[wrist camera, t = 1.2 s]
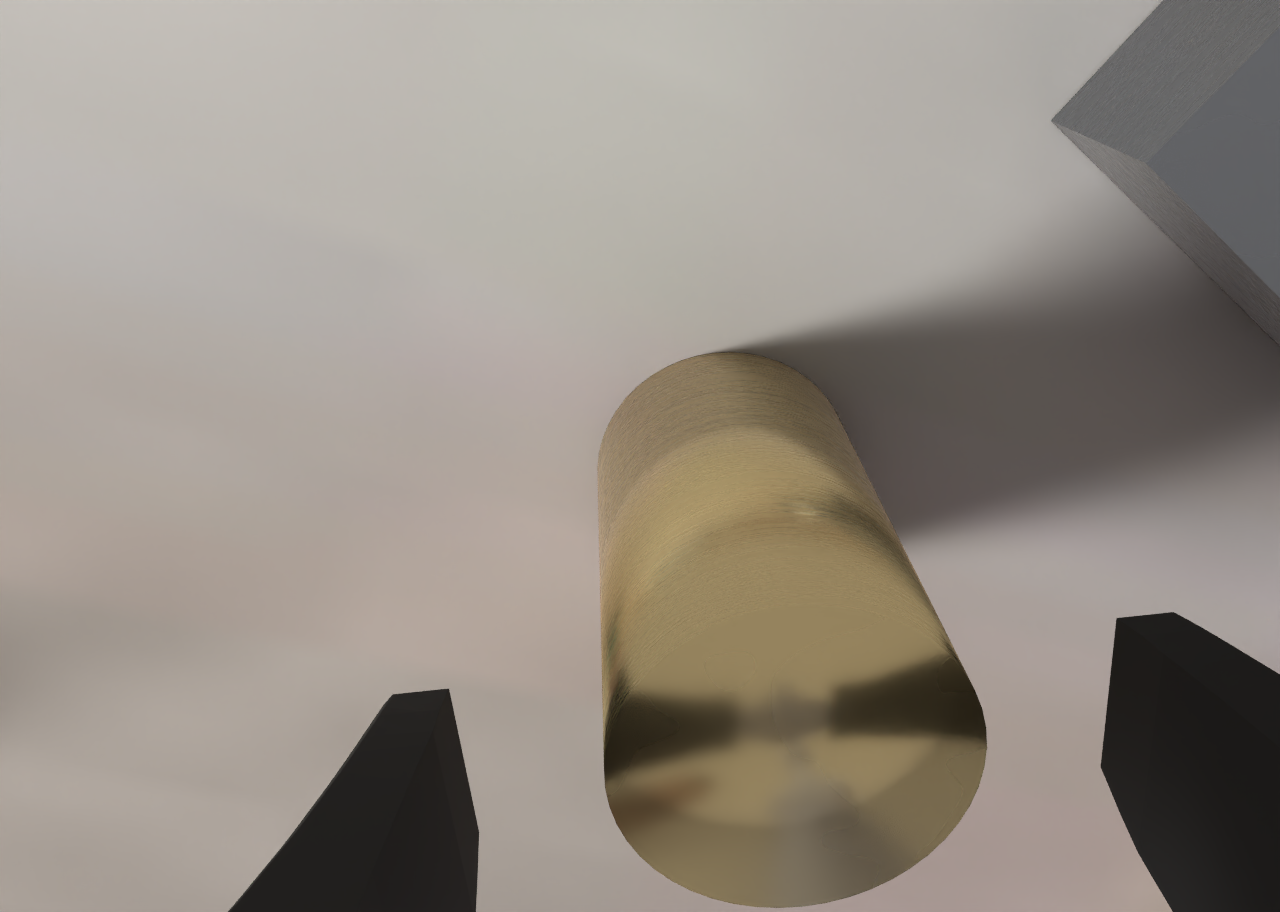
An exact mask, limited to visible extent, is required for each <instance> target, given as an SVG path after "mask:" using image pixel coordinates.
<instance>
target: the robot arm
mask: <svg viewBox="0 0 1280 912" xmlns="http://www.w3.org/2000/svg"><path fill="white" fill-rule="evenodd" d="M1101 769H1102V771H1103V773H1104V776H1105V778H1106V781H1107V783H1108V785H1109V788H1110V790H1111V792H1112V795H1113V797H1114V800H1115V802H1116V804H1117V807H1118V809H1119V812H1120V814H1121V816H1122V818H1123V821H1124V823H1125V825H1126V827H1127V829H1128V832H1129V834H1130V836H1131V838H1132V840H1133V843H1134V845H1135V847H1136V849H1137V851H1138V853H1139V855H1140V857H1141V858H1142V860H1143V862H1144V864H1145V865H1146V867H1147V869H1148V870H1149V872H1150V874H1151V876H1152V877H1153V879H1154V881H1155V882H1156V884H1157V886H1158V887H1159V889H1160V891H1161V892H1162V894H1163V896H1164V897H1165V899H1166V901H1167V903H1168V904H1169V906H1170V908H1171V909H1172V911H1173V912H1280V674H1278V673H1277V672H1275V671H1273V670H1272V669H1270V668H1268V667H1267V666H1265V665H1263V664H1262V663H1260V662H1258V661H1257V660H1255V659H1253V658H1252V657H1250V656H1248V655H1247V654H1245V653H1243V652H1242V651H1240V650H1238V649H1237V648H1235V647H1233V646H1232V645H1230V644H1228V643H1227V642H1225V641H1223V640H1222V639H1220V638H1218V637H1217V636H1215V635H1213V634H1212V633H1210V632H1208V631H1207V630H1205V629H1203V628H1201V627H1200V626H1198V625H1196V624H1194V623H1193V622H1191V621H1189V620H1187V619H1185V618H1183V617H1181V616H1180V615H1178V614H1176V613H1174V612H1171V613H1162V614H1152V615H1143V616H1133V617H1124V618H1117V620H1116V629H1115V638H1114V648H1113V657H1112V666H1111V676H1110V685H1109V694H1108V704H1107V713H1106V722H1105V732H1104V741H1103V750H1102V760H1101ZM478 845H479V830H478V825H477V820H476V816H475V811H474V806H473V801H472V797H471V792H470V787H469V782H468V778H467V773H466V768H465V763H464V759H463V754H462V749H461V744H460V739H459V735H458V730H457V725H456V720H455V716H454V711H453V706H452V701H451V697H450V692H449V689H441V690H431V691H422V692H412V693H403V694H393V695H392V696H391V697H390V698H389V699H388V701H387V702H386V703H385V704H384V705H383V707H382V708H381V710H380V711H379V713H378V714H377V716H376V717H375V718H374V720H373V721H372V723H371V724H370V726H369V727H368V729H367V730H366V732H365V733H364V735H363V736H362V738H361V739H360V741H359V742H358V744H357V745H356V746H355V748H354V749H353V751H352V752H351V754H350V755H349V757H348V758H347V760H346V761H345V762H344V764H343V765H342V767H341V768H340V769H339V771H338V772H337V774H336V775H335V777H334V778H333V779H332V781H331V782H330V784H329V785H328V786H327V788H326V789H325V790H324V792H323V793H322V795H321V796H320V797H319V799H318V800H317V801H316V803H315V804H314V805H313V807H312V808H311V809H310V811H309V812H308V813H307V815H306V816H305V817H304V819H303V820H302V821H301V823H300V824H299V825H298V827H297V828H296V829H295V831H294V832H293V833H292V835H291V836H290V837H289V839H288V840H287V841H286V842H285V844H284V845H283V846H282V848H281V849H280V850H279V851H278V852H277V854H276V855H275V856H274V857H273V859H272V860H271V861H270V862H269V863H268V865H267V866H266V867H265V868H264V869H263V871H262V872H261V873H260V874H259V875H258V877H257V878H256V879H255V880H254V881H253V883H252V884H251V885H250V886H249V888H248V889H247V890H246V891H245V892H244V894H243V895H242V896H241V897H240V898H239V900H238V901H237V902H236V903H235V904H234V906H233V907H232V908H231V909H230V910H229V911H228V912H476V895H477V873H478Z"/></svg>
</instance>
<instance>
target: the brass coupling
mask: <svg viewBox="0 0 1280 912" xmlns="http://www.w3.org/2000/svg"><path fill="white" fill-rule="evenodd" d="M598 511H599V557H600V603H601V648H602V694H603V740H604V775H605V789H606V793H607V798H608V802H609V806H610V809H611V811H612V814H613V816H614V819H615V821H616V824H617V825H618V827H619V829H620V830H621V832H622V834H623V835H624V837H625V838H626V840H627V842H628V843H629V844H630V845H631V846H632V847H633V849H634V850H635V851H636V852H637V853H638V855H639V856H640V857H641V858H643V859H644V860H645V861H646V862H647V863H648V864H649V865H650V866H652V867H653V868H654V869H655V870H656V871H658V872H659V873H661V874H662V875H664V876H665V877H667V878H668V879H670V880H671V881H673V882H675V883H677V884H679V885H681V886H683V887H685V888H687V889H689V890H691V891H693V892H696V893H699V894H701V895H704V896H707V897H709V898H712V899H716V900H720V901H724V902H729V903H733V904H739V905H746V906H753V907H771V908H784V907H802V906H809V905H815V904H822V903H827V902H831V901H835V900H839V899H843V898H847V897H850V896H853V895H856V894H859V893H862V892H865V891H867V890H870V889H872V888H874V887H877V886H879V885H881V884H883V883H885V882H887V881H889V880H891V879H893V878H895V877H897V876H898V875H900V874H902V873H903V872H905V871H907V870H908V869H910V868H911V867H913V866H914V865H915V864H917V863H918V862H919V861H921V860H922V859H923V858H925V857H926V856H927V855H929V854H930V853H931V852H932V851H933V850H934V849H935V848H936V847H937V846H938V845H939V844H941V843H942V842H943V841H944V840H945V839H946V837H947V836H948V835H949V834H950V833H951V831H952V830H953V829H954V828H955V827H956V826H957V824H958V823H959V822H960V820H961V819H962V817H963V815H964V814H965V812H966V811H967V809H968V808H969V806H970V804H971V802H972V800H973V798H974V796H975V793H976V791H977V789H978V787H979V784H980V780H981V777H982V773H983V770H984V766H985V758H986V750H987V739H986V725H985V720H984V716H983V711H982V707H981V705H980V702H979V700H978V697H977V695H976V692H975V690H974V688H973V686H972V684H971V682H970V680H969V678H968V676H967V674H966V672H965V670H964V668H963V666H962V664H961V662H960V660H959V658H958V656H957V654H956V652H955V650H954V648H953V646H952V644H951V642H950V640H949V638H948V636H947V634H946V632H945V630H944V628H943V626H942V624H941V622H940V620H939V618H938V616H937V614H936V612H935V610H934V608H933V606H932V604H931V602H930V600H929V598H928V596H927V594H926V592H925V590H924V588H923V586H922V584H921V582H920V580H919V578H918V576H917V574H916V572H915V570H914V568H913V566H912V564H911V562H910V560H909V558H908V556H907V554H906V552H905V550H904V548H903V546H902V544H901V542H900V540H899V538H898V536H897V534H896V532H895V530H894V528H893V526H892V524H891V522H890V520H889V518H888V516H887V514H886V512H885V510H884V508H883V506H882V504H881V502H880V500H879V498H878V496H877V494H876V492H875V490H874V488H873V486H872V484H871V482H870V480H869V478H868V476H867V474H866V472H865V470H864V468H863V466H862V464H861V462H860V460H859V458H858V456H857V454H856V452H855V450H854V448H853V446H852V444H851V442H850V440H849V438H848V436H847V434H846V432H845V430H844V428H843V426H842V424H841V422H840V420H839V418H838V416H837V414H836V412H835V410H834V409H833V407H832V405H831V404H830V402H829V401H828V399H827V398H826V397H825V396H824V394H823V393H822V392H821V391H820V390H819V389H818V388H817V387H816V386H815V385H814V384H813V383H812V382H811V381H810V380H809V379H807V378H806V377H804V376H803V375H802V374H800V373H799V372H797V371H796V370H794V369H792V368H790V367H788V366H786V365H784V364H782V363H780V362H777V361H774V360H771V359H769V358H766V357H762V356H757V355H752V354H745V353H733V352H729V353H712V354H706V355H700V356H696V357H692V358H689V359H686V360H682V361H680V362H677V363H675V364H673V365H670V366H668V367H666V368H664V369H662V370H661V371H659V372H657V373H655V374H654V375H652V376H650V377H649V378H648V379H647V380H645V381H644V382H643V383H641V384H640V385H639V386H638V387H637V388H636V389H635V390H634V391H633V392H632V393H631V394H630V395H629V396H628V397H627V398H626V399H625V400H624V401H623V403H622V404H621V405H620V407H619V408H618V409H617V410H616V412H615V414H614V416H613V417H612V419H611V421H610V423H609V424H608V427H607V429H606V432H605V434H604V437H603V439H602V443H601V448H600V452H599V459H598Z"/></svg>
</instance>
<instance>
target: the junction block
mask: <svg viewBox="0 0 1280 912" xmlns="http://www.w3.org/2000/svg"><path fill="white" fill-rule="evenodd" d="M1051 121H1052V122H1053V123H1054V124H1055V125H1056V126H1057V127H1058V128H1059V129H1060V130H1061V131H1062V132H1063V133H1064V134H1065V135H1066V136H1067V137H1068V138H1069V139H1070V140H1071V141H1072V142H1073V143H1074V144H1075V145H1076V146H1077V147H1078V148H1079V149H1080V150H1081V151H1082V152H1083V153H1084V154H1085V155H1086V156H1087V157H1088V158H1089V159H1090V160H1091V161H1092V162H1093V163H1094V164H1095V165H1096V166H1097V167H1098V168H1099V169H1100V170H1101V171H1103V172H1104V173H1105V174H1106V175H1107V176H1108V177H1109V178H1110V179H1111V180H1112V181H1113V182H1114V183H1115V184H1116V185H1117V186H1118V187H1119V188H1120V189H1121V190H1122V191H1123V192H1124V193H1125V194H1126V195H1127V196H1128V197H1129V198H1130V199H1131V200H1132V201H1133V202H1134V203H1135V204H1136V205H1137V206H1138V207H1139V208H1140V209H1141V210H1142V211H1143V212H1144V213H1145V214H1146V215H1147V216H1148V217H1149V218H1150V219H1151V220H1152V221H1153V222H1154V223H1155V224H1156V225H1157V226H1158V227H1159V228H1160V229H1161V230H1162V231H1163V232H1164V233H1165V234H1167V235H1168V236H1169V237H1170V238H1171V239H1172V240H1173V241H1174V242H1175V243H1176V244H1177V245H1178V246H1179V247H1180V248H1181V249H1182V250H1183V251H1184V252H1185V253H1186V254H1187V255H1188V256H1189V257H1190V258H1191V259H1192V260H1193V261H1194V262H1195V263H1196V264H1197V265H1198V266H1199V267H1200V268H1201V269H1202V270H1203V271H1204V272H1205V273H1206V274H1207V275H1208V276H1209V277H1210V278H1211V279H1212V280H1213V281H1214V282H1215V283H1216V284H1217V285H1218V286H1219V287H1220V288H1221V289H1222V290H1223V291H1224V292H1225V293H1226V294H1227V295H1228V296H1229V297H1231V298H1232V299H1233V300H1234V301H1235V302H1236V303H1237V304H1238V305H1239V306H1240V307H1241V308H1242V309H1243V310H1244V311H1245V312H1246V313H1247V314H1248V315H1249V316H1250V317H1251V318H1252V319H1253V320H1254V321H1255V322H1256V323H1257V324H1258V325H1259V326H1260V327H1261V328H1262V329H1263V330H1264V331H1265V332H1266V333H1267V334H1268V335H1269V336H1270V337H1271V338H1272V339H1273V340H1274V341H1275V342H1276V343H1277V344H1278V345H1279V346H1280V0H1163V2H1162V3H1161V4H1160V5H1159V6H1158V7H1157V8H1156V9H1155V10H1154V11H1153V12H1152V13H1151V14H1150V15H1149V16H1148V18H1147V19H1146V20H1145V21H1144V22H1143V23H1142V24H1141V25H1140V26H1139V27H1138V28H1137V29H1136V30H1135V31H1134V33H1133V34H1132V35H1131V36H1130V37H1129V38H1128V39H1127V40H1126V41H1125V42H1124V43H1123V44H1122V45H1121V46H1120V47H1119V49H1118V50H1117V51H1116V52H1115V53H1114V54H1113V55H1112V56H1111V57H1110V58H1109V59H1108V60H1107V61H1106V62H1105V64H1104V65H1103V66H1102V67H1101V68H1100V69H1099V70H1098V71H1097V72H1096V73H1095V74H1094V75H1093V76H1092V77H1091V78H1090V80H1089V81H1088V82H1087V83H1086V84H1085V85H1084V86H1083V87H1082V88H1081V89H1080V90H1079V91H1078V92H1077V93H1076V94H1075V96H1074V97H1073V98H1072V99H1071V100H1070V101H1069V102H1068V103H1067V104H1066V105H1065V106H1064V107H1063V108H1062V109H1061V111H1060V112H1059V113H1058V114H1057V115H1056V116H1055V117H1054V118H1053V119H1052V120H1051Z"/></svg>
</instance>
